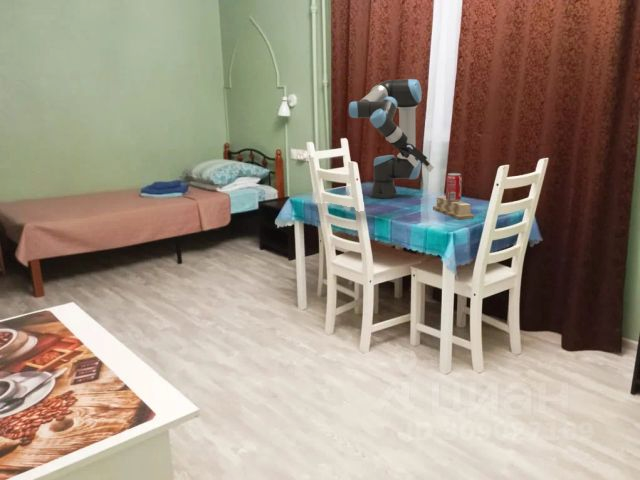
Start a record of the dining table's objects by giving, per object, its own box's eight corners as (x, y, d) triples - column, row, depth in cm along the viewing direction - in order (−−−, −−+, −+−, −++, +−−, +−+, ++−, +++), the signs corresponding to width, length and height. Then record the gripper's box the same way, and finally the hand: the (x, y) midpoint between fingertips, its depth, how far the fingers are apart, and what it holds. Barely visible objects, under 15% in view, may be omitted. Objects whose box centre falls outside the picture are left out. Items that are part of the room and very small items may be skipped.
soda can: (461, 202, 246) (462, 175, 242) (445, 202, 247) (447, 175, 244) (460, 199, 253) (461, 172, 249) (445, 199, 254) (446, 172, 250)
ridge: (432, 209, 262) (433, 196, 260) (446, 208, 264) (447, 195, 262) (459, 219, 240) (459, 206, 238) (473, 218, 242) (474, 204, 240)
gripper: (379, 141, 248) (406, 169, 257) (403, 146, 225) (432, 177, 234) (389, 129, 248) (416, 158, 257) (415, 133, 225) (443, 165, 234)
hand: (424, 167), depth 246 cm, fingers open, 13 cm apart
